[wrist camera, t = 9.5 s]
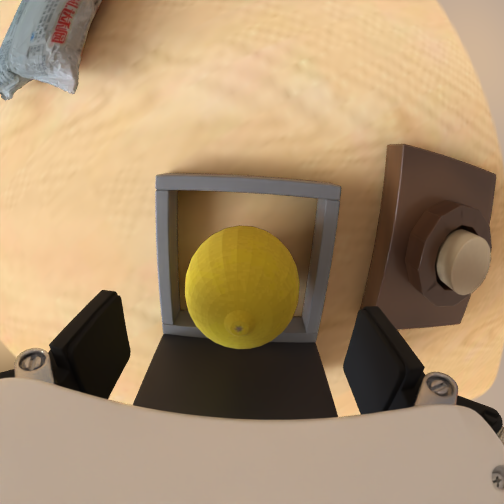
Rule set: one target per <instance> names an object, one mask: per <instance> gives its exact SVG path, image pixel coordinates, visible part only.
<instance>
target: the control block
mask: <svg viewBox="0 0 504 504" xmlns="http://www.w3.org/2000/svg"><path fill="white" fill-rule="evenodd" d="M495 182H496V174H494V173H492V172H489V171H487V170H484V169H481V168H479V167H476V166H473V165H471V164H468V163H465V162H462V161H459V160H456V159H454V158H450V157H447V156H444V155H441V154H438V153H435V152H431V151H428V150H424V149H421V148H417V147H413V146H410V145H406V144H393V145H387V156H386V167H385V177H384V186H383V194H382V202H381V209H380V216H379V222H378V228H377V234H376V240H375V245H374V251H373V256H372V261H371V266H370V271H369V275H368V280H367V284H366V288H365V293H364V297H363V301H362V305H361V309H360V310H362V309H363V307H365V306H378V307H379V308H380V309H381V310H382V312H383V313H384V314H385V315H386V317H387V318H388V319H389V321H390V322H391V323H392V324H393V326H394V327H395V328H396V330H397V329H412V328H425V327H436V326H446V325H455V324H460V323H461V320H462V318H463V315H464V312H465V310H466V307H467V304H468V301H469V299H470V296H471V293H470V294H467V295H460V294H457V293H456V292H455V291H453V290H452V289H451V288H450V287H448V286H447V285H446V284H445V283H443V282H442V281H441V280H440V279H439V277H438V274H437V270H436V259H437V255H438V251H439V249H440V247H441V245H442V243H443V241H444V240H445V239H446V237H447V236H448V235H449V234H451V233H452V232H454V231H456V230H460V229H464V230H467V231H469V232H471V233H473V234H476V235H478V236H480V237H482V238H484V239H485V240H486V241H487V243H488V245H489V247H490V252H491V248H492V247H491V235H490V227H489V223H490V218H491V212H492V206H493V199H494V191H495ZM472 293H473V292H472Z"/></svg>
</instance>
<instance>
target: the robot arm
mask: <svg viewBox="0 0 504 504" xmlns="http://www.w3.org/2000/svg"><path fill="white" fill-rule="evenodd" d="M49 346H50V349H51V350H50V351H49V352H48V353H47V352H46V351H45V350H43V349H40V348H31V349H28V350H25V351H24V352H22V353H21V354H20V355H18V357H17V358H16V360H15V369H13V370H9V371H5V372H1V373H0V504H504V427H503V426H502V425H503V424H502V418H501V416H500V415H499V413H498V412H497V411H496V410H495V409H493V408H491V407H488V406H485V405H482V404H480V403H477V402H474V401H471V400H469V399H466V398H463V397H461V396H458V386H457V384H456V382H455V381H454V380H453V379H452V378H451V377H450V376H448V375H446V374H444V373H440V372H431V373H428V374H427V375H425V374H424V372H423V370H424V368H425V367H424V366H423V364H422V363H421V362H420V360H419V359H418V357H417V356H416V355H415V353H414V352H413V351H412V349H411V348H410V347H409V345H408V344H407V343H406V341H405V340H404V339H403V337H402V336H401V335H400V333H399V332H398V331H397V330H396V328H395V327H394V326H393V324H392V323H391V322H390V321H389V319H388V318H387V317H386V315H385V314H384V313H383V312H382V310H381V309H380V308H379V307H378V306H365V307H363V309H362V310H359V312H358V315H357V318H356V322H355V326H354V330H353V333H352V337H351V340H350V344H349V347H348V351H347V354H346V357H345V360H344V365H343V369H344V373H345V375H346V378H347V380H348V383H349V385H350V388H351V390H352V393H353V395H354V398H355V400H356V403H357V406H358V408H359V411H360V413H361V415H353V416H344V417H333V418H319V419H298V420H252V419H231V418H217V417H206V416H197V415H189V414H181V413H174V412H167V411H161V410H155V409H149V408H144V407H139V406H134V405H129V404H125V403H120V402H116V401H112V400H108V398H109V396H110V394H111V392H112V390H113V388H114V386H115V384H116V382H117V380H118V378H119V377H120V375H121V373H122V371H123V369H124V367H125V365H126V364H127V362H128V360H129V358H130V346H129V341H128V336H127V331H126V325H125V319H124V313H123V307H122V300H121V297H120V296H118V295H117V293H116V292H115V291H107V290H102V291H101V292H100V293H99V294H98V295H97V296H96V297H95V298H94V299H93V300H91V301H90V302H89V303H88V304H87V305H86V307H85V308H84V309H83V310H82V311H81V312H80V313H79V314H78V315H77V316H76V317H75V318H74V319H73V320H72V321H71V322H70V323H69V324H68V325H67V326H66V327H65V328H64V329H63V330H62V331H61V332H60V334H59V335H58V336H57V337H56V338H55V339H54V340H53V341H52V342H51V343H50V344H49Z"/></svg>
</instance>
